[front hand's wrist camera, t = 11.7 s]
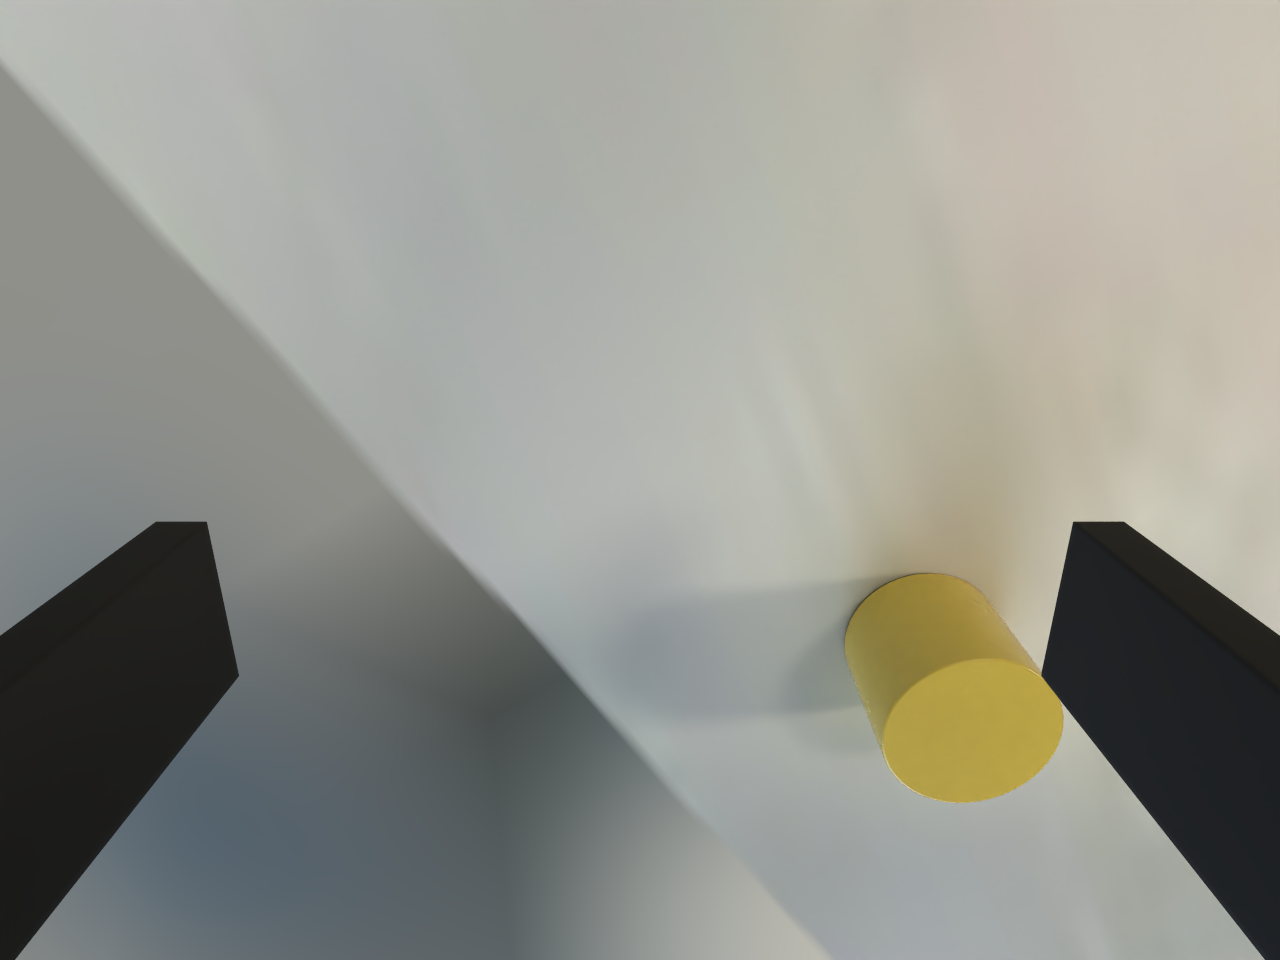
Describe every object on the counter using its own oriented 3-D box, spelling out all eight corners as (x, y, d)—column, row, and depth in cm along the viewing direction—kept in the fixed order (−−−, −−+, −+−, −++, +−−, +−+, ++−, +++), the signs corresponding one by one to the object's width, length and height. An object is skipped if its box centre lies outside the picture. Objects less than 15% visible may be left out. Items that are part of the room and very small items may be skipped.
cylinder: (865, 562, 27) (909, 647, 22) (1016, 583, 27) (1091, 671, 23) (828, 690, 29) (861, 792, 24) (969, 709, 29) (1029, 813, 25)
